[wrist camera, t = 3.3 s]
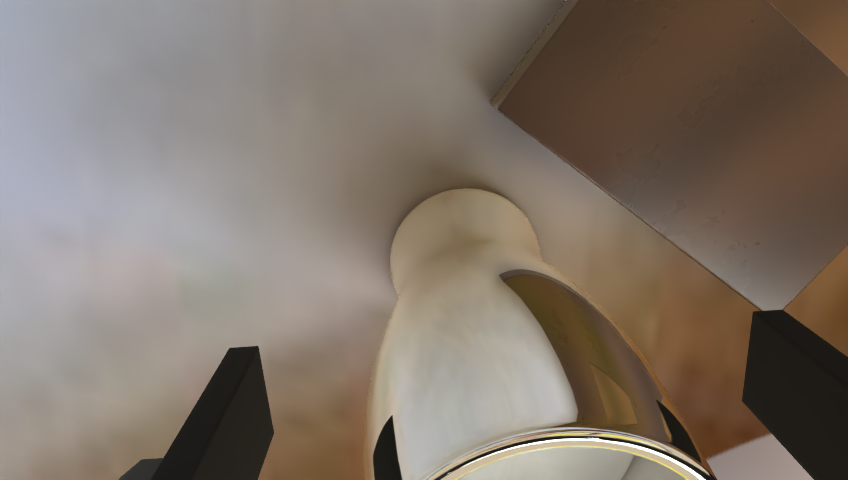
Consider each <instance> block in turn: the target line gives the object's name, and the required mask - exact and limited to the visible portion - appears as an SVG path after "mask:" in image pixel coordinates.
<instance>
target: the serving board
mask: <svg viewBox="0 0 848 480" xmlns="http://www.w3.org/2000/svg"><path fill="white" fill-rule="evenodd" d="M490 104H491V105H492V106H493V107H494V108H495V109H497V110H498V111H499V112H501V113H502V114H503V115H505V116H506V117H507V118H509V119H510V120H511V121H513V122H514V123H515V124H516V125H518V126H519V127H520V128H522V129H523V130H524V131H526V132H527V133H528V134H530V135H531V136H532V137H533V138H535V139H536V140H537V141H539V142H540V143H541V144H543V145H544V146H545V147H547V148H548V149H549V150H550V151H552V152H553V153H554V154H556V155H557V156H558V157H560V158H561V159H562V160H564V161H565V162H566V163H567V164H569V165H570V166H571V167H573V168H574V169H575V170H577V171H578V172H579V173H581V174H582V175H583V176H584V177H586V178H587V179H588V180H590V181H591V182H592V183H594V184H595V185H596V186H598V187H599V188H600V189H601V190H603V191H604V192H605V193H607V194H608V195H609V196H611V197H612V198H613V199H615V200H616V201H617V202H619V203H620V204H621V205H622V206H624V207H625V208H626V209H628V210H629V211H630V212H632V213H633V214H634V215H636V216H637V217H638V218H639V219H641V220H642V221H643V222H645V223H646V224H647V225H649V226H650V227H651V228H653V229H654V230H655V231H656V232H658V233H659V234H660V235H662V236H663V237H664V238H666V239H667V240H668V241H670V242H671V243H672V244H673V245H675V246H676V247H677V248H679V249H680V250H681V251H683V252H684V253H685V254H687V255H688V256H689V257H690V258H692V259H693V260H694V261H696V262H697V263H698V264H700V265H701V266H702V267H704V268H705V269H706V270H707V271H709V272H710V273H711V274H713V275H714V276H715V277H717V278H718V279H719V280H721V281H722V282H723V283H725V284H726V285H727V286H728V287H730V288H731V289H732V290H734V291H735V292H736V293H738V294H739V295H740V296H742V297H743V298H744V299H745V300H747V301H748V302H749V303H751V304H752V305H753V306H755V307H756V308H757V309H759V310H760V311H768V310H783V309H784V308H785V307H786V306H787V305H788V304H789V303H790V302H791V301H792V300H793V299H794V298H795V297H796V296H797V295H798V294H799V293H800V292H801V291H802V290H803V289H804V288H805V287H806V286H807V285H808V284H809V283H810V282H811V281H812V280H813V279H814V278H815V277H816V276H817V275H818V274H819V273H820V272H821V271H822V270H823V269H824V268H825V267H826V266H827V265H828V264H829V263H830V262H831V261H832V260H833V259H834V258H835V257H836V256H837V255H838V254H839V253H840V252H841V251H842V250H843V249H844V248H845V247H846V246H847V245H848V0H566V2H565V3H564V4H563V6H562V7H561V8H560V10H559V11H558V12H557V14H556V15H555V16H554V18H553V19H552V20H551V22H550V23H549V24H548V26H547V27H546V28H545V30H544V31H543V33H542V34H541V35H540V37H539V38H538V39H537V41H536V42H535V43H534V45H533V46H532V47H531V49H530V50H529V51H528V53H527V54H526V55H525V57H524V58H523V59H522V61H521V62H520V63H519V65H518V66H517V67H516V69H515V70H514V72H513V73H512V74H511V76H510V77H509V78H508V80H507V81H506V82H505V84H504V85H503V86H502V88H501V89H500V90H499V92H498V93H497V94H496V96H495V97H494V98H493V100H492V101H491V103H490Z"/></svg>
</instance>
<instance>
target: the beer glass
mask: <svg viewBox="0 0 848 480" xmlns="http://www.w3.org/2000/svg"><path fill="white" fill-rule="evenodd" d="M390 270H391V276H392V280H393V284H394V287H395V289H396V292H397V294H398V296H399V299H398V301H397V303H396V306H395V308H394V310H393V313H392V315H391V317H390V320H389V322H388V325H387V327H386V330H385V332H384V335H383V338H382V340H381V344H380V347H379V350H378V354H377V357H376V360H375V364H374V367H373V371H372V374H371V379H370V385H369V392H368V400H367V407H366V414H365V423H364V443H363V480H717V479H716V477H715V475H714V473H713V472H712V470H711V468H710V466H709V465H708V463H707V461H706V460H705V458H704V456H703V454H702V452H701V450H700V449H699V447H698V445H697V443H696V441H695V440H694V438H693V436H692V434H691V432H690V430H689V429H688V427H687V425H686V424H685V422H684V420H683V418H682V417H681V415H680V413H679V412H678V410H677V408H676V406H675V405H674V403H673V401H672V400H671V398H670V396H669V395H668V393H667V391H666V390H665V388H664V387H663V385H662V384H661V382H660V381H659V379H658V378H657V376H656V375H655V373H654V372H653V370H652V369H651V367H650V366H649V364H648V363H647V361H646V360H645V358H644V357H643V355H642V354H641V352H640V351H639V350H638V348H637V347H636V346H635V345H634V343H633V342H632V341H631V340H630V338H629V337H628V336H627V335H626V334H625V332H624V331H623V330H622V329H621V327H620V326H619V325H618V324H617V322H616V321H615V320H614V319H613V318H612V317H611V315H610V314H609V313H608V312H607V311H606V310H605V309H604V308H603V307H601V306H600V305H599V304H598V303H597V302H596V301H595V300H594V299H593V298H591V297H590V296H589V295H588V294H587V293H586V292H585V291H584V290H583V289H581V288H580V287H579V286H578V285H577V284H575V283H574V282H573V281H571V280H570V279H569V278H567V277H566V276H565V275H563V274H562V273H561V272H559V271H558V270H557V269H555V268H554V267H552V266H551V265H550V264H548V263H547V262H545V261H544V260H542V259H541V253H540V247H539V243H538V239H537V236H536V234H535V231H534V229H533V227H532V225H531V223H530V222H529V220H528V219H527V217H526V216H525V215H524V214H523V212H522V211H521V210H520V209H519V208H518V207H517V206H515V205H514V204H513V203H512V202H510V201H509V200H507V199H506V198H504V197H502V196H500V195H498V194H495V193H492V192H489V191H485V190H481V189H473V188H462V189H453V190H449V191H445V192H442V193H439V194H436V195H434V196H432V197H430V198H428V199H426V200H425V201H423V202H422V203H420V204H419V205H418V206H416V207H415V208H414V209H413V210H412V211H411V212H410V213H409V214H408V215H407V217H406V218H405V219H404V220H403V222H402V223H401V225H400V226H399V228H398V230H397V232H396V234H395V237H394V239H393V242H392V246H391V252H390Z"/></svg>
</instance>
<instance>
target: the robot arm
mask: <svg viewBox="0 0 848 480" xmlns="http://www.w3.org/2000/svg"><path fill="white" fill-rule="evenodd" d="M742 401H743V403H744V404H745V405H746V406H747V407H748V408H749V409H750V410H751V411H752V412H753V413H754V415H755V416H756V417H757V418H758V419H759V420H760V421H761V422H762V423H763V424H764V425H765V427H766V428H767V429H768V430H769V431H770V432H771V433H772V434H773V435H774V436H775V437H776V439H777V440H778V441H779V442H780V443H781V444H782V445H783V446H784V447H785V448H786V449H787V451H788V452H789V453H790V454H791V455H792V456H793V457H794V458H795V459H796V460H797V462H798V463H799V464H800V465H801V466H802V467H803V468H804V469H805V470H806V471H807V472H808V473H809V475H810V476H811V477H812V478H813V479H814V480H848V357H847V356H845V355H844V354H843V353H841V352H840V351H839V350H837V349H836V348H834V347H833V346H832V345H830V344H829V343H828V342H826V341H825V340H823V339H822V338H821V337H819V336H818V335H817V334H815V333H814V332H812V331H811V330H810V329H808V328H807V327H805V326H804V325H803V324H801V323H800V322H799V321H797V320H796V319H794V318H793V317H792V316H790V315H789V314H788V313H786V312H785V311H783V310H768V311H754V312H753V316H752V324H751V332H750V341H749V349H748V357H747V365H746V373H745V381H744V389H743V397H742ZM273 434H274V431H273V425H272V419H271V414H270V408H269V403H268V397H267V392H266V386H265V381H264V375H263V369H262V364H261V358H260V353H259V347H258V346H252V347H238V348H229V350H228V352H227V353H226V355H225V357H224V358H223V360H222V361H221V363H220V365H219V366H218V368H217V370H216V371H215V373H214V375H213V376H212V378H211V380H210V381H209V383H208V385H207V386H206V388H205V390H204V391H203V393H202V395H201V396H200V398H199V400H198V401H197V403H196V405H195V406H194V408H193V410H192V411H191V413H190V415H189V416H188V418H187V420H186V421H185V423H184V425H183V426H182V428H181V430H180V431H179V433H178V435H177V436H176V438H175V440H174V441H173V443H172V445H171V446H170V448H169V450H168V451H167V453H166V455H165V456H164V458H158V459H143V460H141V461H139V462H138V463H137V464H136V465H135V466H133V467H132V468H131V469H130V470H129V471H127V472H126V473H125V474H124V475H123V476H121V477H120V479H119V480H257V479H258V477H259V474H260V471H261V468H262V465H263V463H264V460H265V457H266V454H267V451H268V449H269V446H270V443H271V440H272V437H273Z"/></svg>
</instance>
